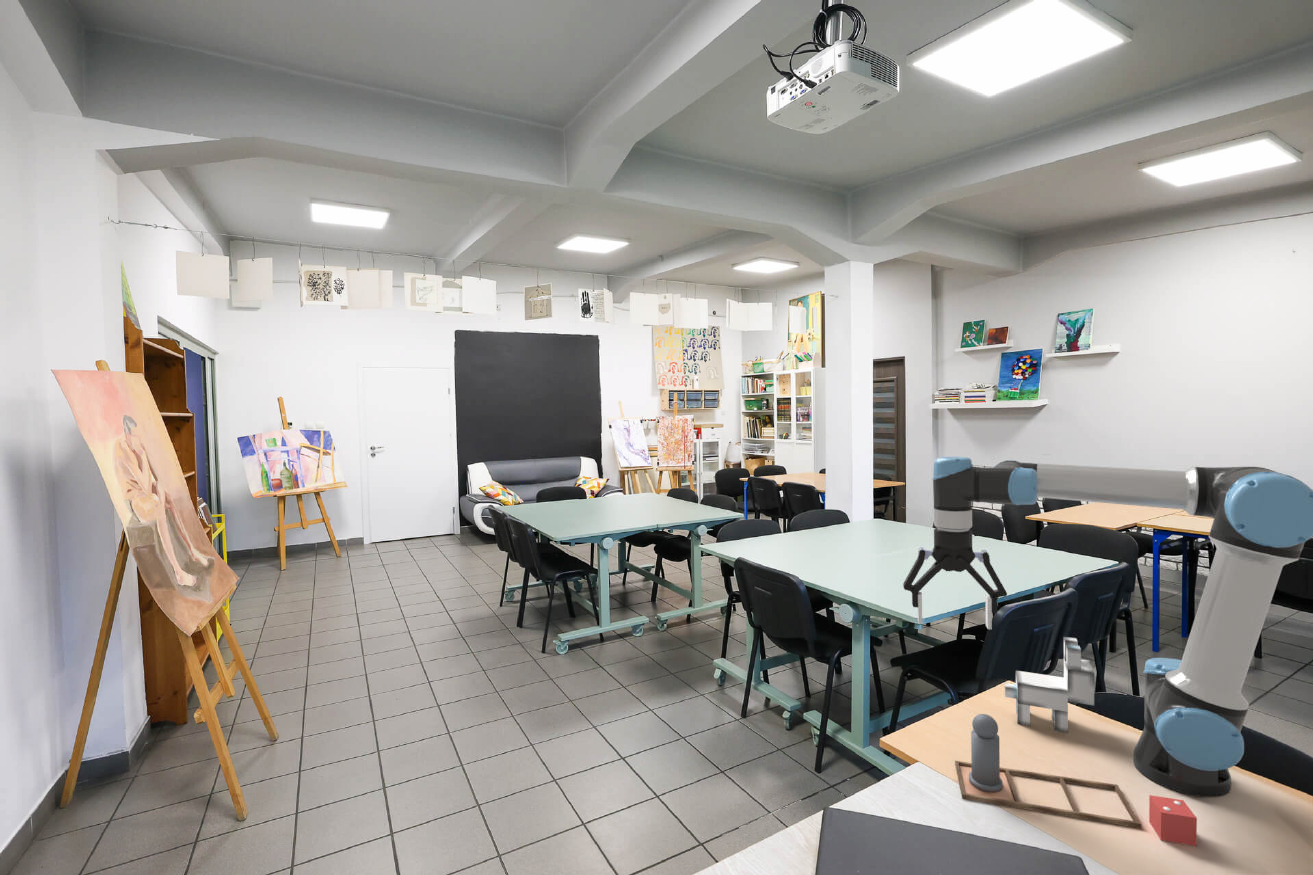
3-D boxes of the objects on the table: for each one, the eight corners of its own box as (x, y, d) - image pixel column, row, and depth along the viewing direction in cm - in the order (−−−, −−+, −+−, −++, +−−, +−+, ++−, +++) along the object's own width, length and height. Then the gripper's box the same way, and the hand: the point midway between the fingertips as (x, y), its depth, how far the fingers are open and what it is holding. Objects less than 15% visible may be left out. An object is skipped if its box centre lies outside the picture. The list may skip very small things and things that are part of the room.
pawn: (999, 777, 126) (999, 710, 125) (1005, 794, 121) (1004, 724, 120) (967, 772, 128) (966, 706, 128) (971, 789, 123) (970, 720, 122)
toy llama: (1004, 707, 155) (1004, 629, 154) (1088, 722, 147) (1088, 639, 146) (1005, 721, 148) (1005, 640, 147) (1094, 737, 140) (1094, 651, 139)
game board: (1117, 788, 122) (1117, 784, 122) (1141, 828, 111) (1141, 823, 110) (955, 764, 132) (955, 760, 132) (962, 798, 120) (962, 794, 120)
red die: (1183, 826, 110) (1183, 799, 110) (1196, 846, 106) (1196, 817, 106) (1149, 821, 112) (1149, 794, 112) (1160, 839, 107) (1161, 811, 107)
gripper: (1014, 526, 133) (1015, 623, 134) (891, 522, 141) (892, 613, 143) (1022, 533, 126) (1022, 635, 127) (891, 529, 134) (893, 624, 136)
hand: (953, 624), depth 135 cm, fingers open, 13 cm apart
